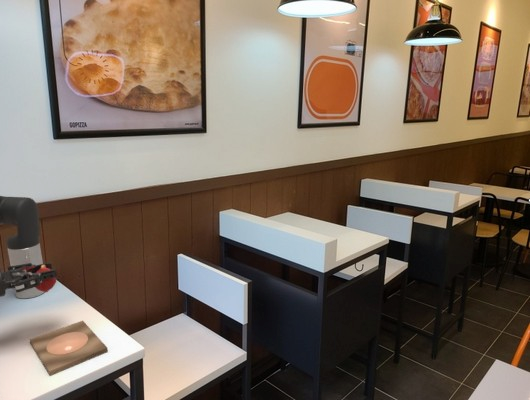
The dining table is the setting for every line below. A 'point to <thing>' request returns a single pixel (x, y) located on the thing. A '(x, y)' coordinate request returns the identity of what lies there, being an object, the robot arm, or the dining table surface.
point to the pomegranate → (45, 281)
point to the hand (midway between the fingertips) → (53, 269)
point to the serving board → (67, 347)
